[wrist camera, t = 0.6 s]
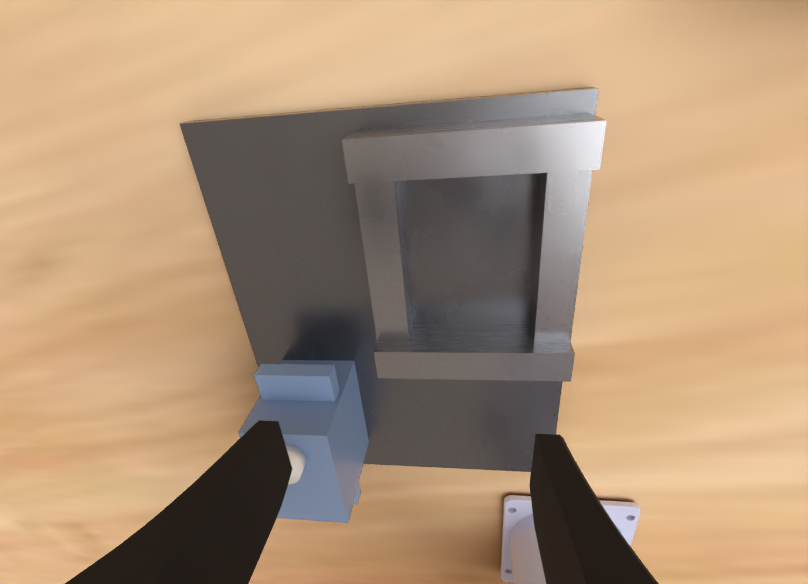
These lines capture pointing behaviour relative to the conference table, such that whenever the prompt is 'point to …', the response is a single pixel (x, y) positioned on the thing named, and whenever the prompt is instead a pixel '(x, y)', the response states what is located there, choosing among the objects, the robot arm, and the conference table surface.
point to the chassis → (414, 258)
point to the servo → (315, 434)
